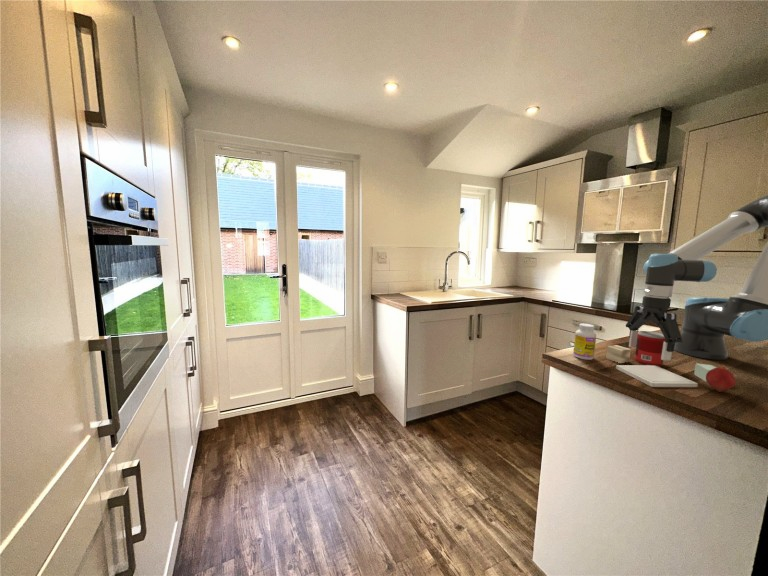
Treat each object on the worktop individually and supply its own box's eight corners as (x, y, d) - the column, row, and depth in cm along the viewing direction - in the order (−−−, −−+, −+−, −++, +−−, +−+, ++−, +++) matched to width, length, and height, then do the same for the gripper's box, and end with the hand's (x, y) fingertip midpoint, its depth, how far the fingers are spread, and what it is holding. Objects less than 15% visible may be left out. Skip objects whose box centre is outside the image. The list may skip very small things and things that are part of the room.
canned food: (668, 367, 106) (672, 337, 104) (642, 365, 107) (646, 335, 106) (653, 359, 113) (657, 331, 112) (629, 357, 115) (633, 330, 113)
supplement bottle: (583, 360, 111) (586, 327, 109) (569, 354, 118) (572, 323, 116) (598, 359, 113) (601, 326, 111) (583, 353, 119) (586, 322, 117)
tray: (655, 368, 104) (655, 365, 104) (697, 387, 91) (697, 382, 90) (615, 368, 104) (616, 364, 104) (651, 386, 90) (652, 382, 90)
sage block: (709, 376, 99) (711, 365, 98) (722, 384, 93) (724, 371, 93) (694, 374, 100) (695, 363, 100) (705, 382, 95) (707, 370, 94)
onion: (698, 386, 91) (702, 361, 90) (715, 386, 91) (719, 361, 90) (721, 396, 85) (726, 369, 84) (739, 395, 86) (744, 369, 84)
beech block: (615, 357, 115) (617, 345, 115) (629, 362, 111) (630, 349, 110) (605, 358, 114) (607, 346, 113) (619, 363, 109) (620, 350, 109)
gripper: (619, 291, 119) (612, 342, 122) (681, 302, 95) (670, 366, 98) (637, 291, 120) (630, 342, 122) (704, 303, 95) (693, 366, 98)
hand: (648, 353), depth 110 cm, fingers open, 13 cm apart
